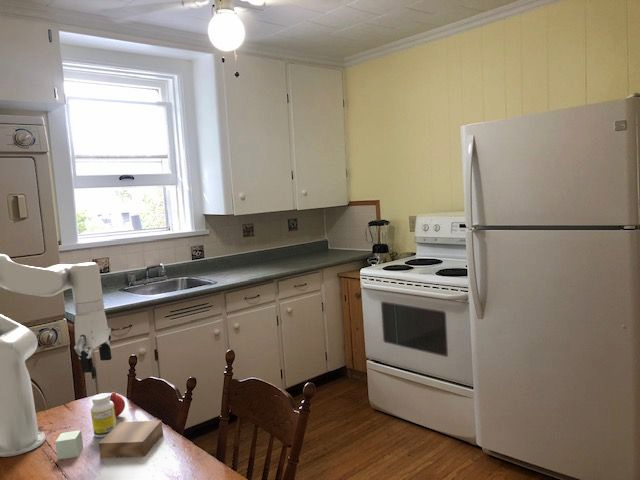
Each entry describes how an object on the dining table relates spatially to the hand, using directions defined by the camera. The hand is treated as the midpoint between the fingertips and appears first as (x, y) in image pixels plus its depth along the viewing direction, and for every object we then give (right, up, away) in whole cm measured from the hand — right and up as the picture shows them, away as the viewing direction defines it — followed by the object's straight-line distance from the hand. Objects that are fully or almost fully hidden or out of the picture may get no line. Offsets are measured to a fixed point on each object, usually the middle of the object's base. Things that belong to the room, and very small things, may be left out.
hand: (97, 365), depth 146 cm
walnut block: (+13, -20, -7) cm, 25 cm away
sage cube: (-3, -21, -8) cm, 23 cm away
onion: (+1, -19, +12) cm, 23 cm away
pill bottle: (+2, -20, +2) cm, 20 cm away
